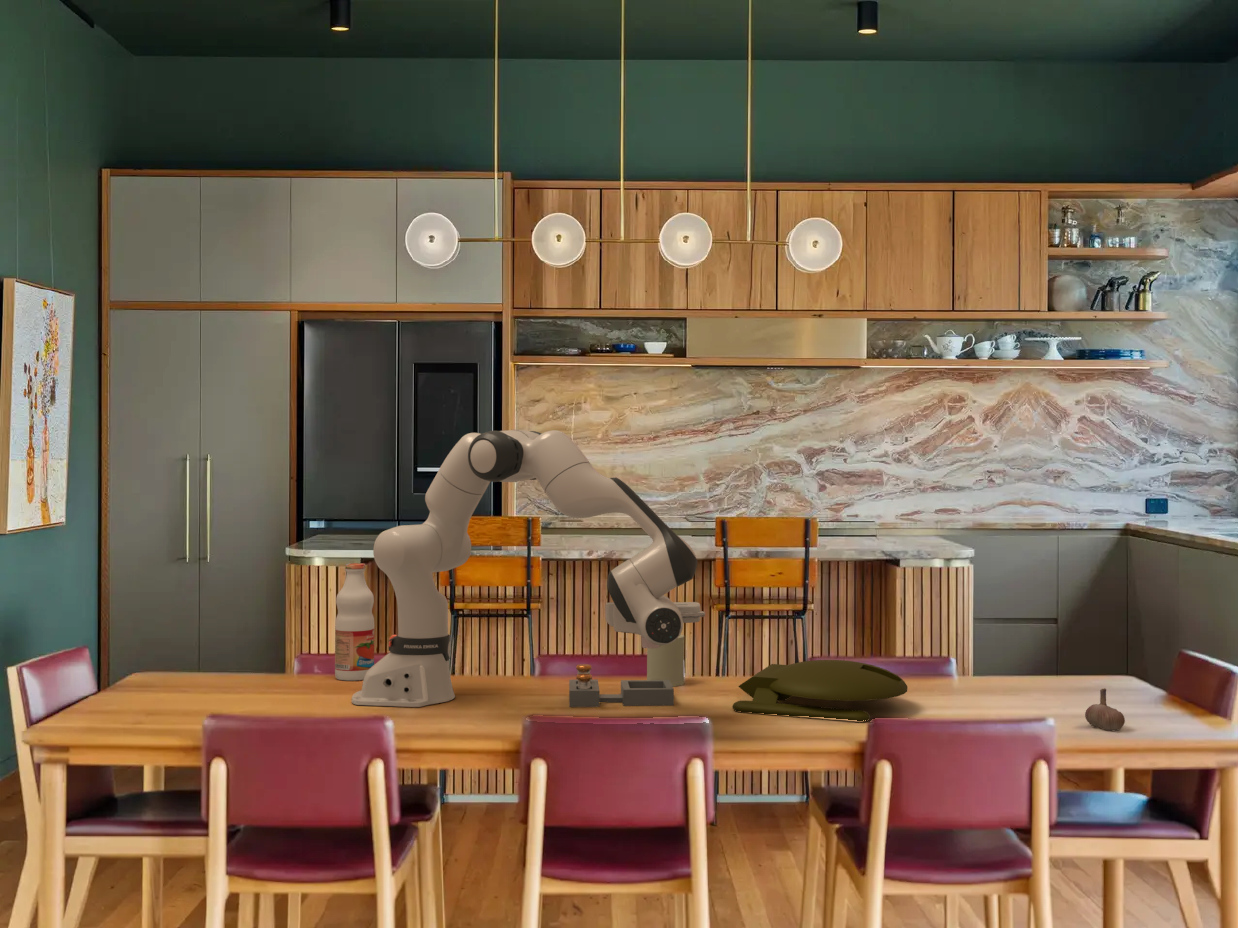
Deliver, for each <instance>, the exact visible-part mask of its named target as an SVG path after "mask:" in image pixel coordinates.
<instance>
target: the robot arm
mask: <svg viewBox="0 0 1238 928" xmlns="http://www.w3.org/2000/svg"><path fill="white" fill-rule="evenodd" d="M535 480H537V482H538V483H539V485H540V486H541V488H542V489H543V491H544V492H545V494H546V496H547V498H548V499H549V500H550V502H551V503H552V504H553V506H554V507H555V508H556V509H557V511H559V512H560V513H561V514H563V515H565V516H567V517H570V518H574V519H575V518H576V519H586V518H592V517H596V516H597V517H598V516H601V515H605V514H606V515H607V514H613V513H620V514H625V515H627V516H628V517H630V518H631V519H632V520H633V521H634V522H635V523H636V524H637V525H638V526H639V527H640V528H641V529H642V530H643V531H644V532H645V534H647V535H648V536H649V538H650V539H652V543H651V544H650V545H648V546H647V547H646V548H644V549H643V550H641V551H640V552H638V553H637V554H635V555H633V556H631V557H630V558H628V559H626V560H625V561H623V562H621V563H620V564H618V565H617V566H616V567H614V568H613V569H612V570H609V573H608V575H607V580H606V582H607V583H606V587H607V591H608V594H609V596H610V598H611V599H612V601H613V602H606V603H605V606H604V608H605V609H604V610H605V611H604V613H605V615H604V617H605V621H606V623H607V624H608V625H609V626H610V627H613V631H614V632H617V633H623V634H624V633H627V634H636V635H638V636H641V635H642V636H644V637H645V638H646V639H647V640H648V641H650V642H651V643H653V644H656V645H666V644H670V643H672V642H674V641H675V640H676V639H677V638H678V637H679V636H680V634H682V633H683V629H684V624H687V623H688V624H690V623H698V622H700V621H701V618H704V617H705V616H706V612H704V611H702V610H701V604H700V602H697V601H683V602H682V601H681V602H679V601H675V602H674V601H673V600H672V599H670V598H669V597H668V596H666V594H667V593H669V592H670V591H672V590H674V589H676V588H677V587H680V586H682V585H684V584H686V583H688V582H690V581H692V580H693V578H694V576H695V574H696V571H697V568H698V561H699V560H698V559H697V555H696V554H695V551H694V550H693V548H692V547H691V546H690V544H688V542H687V541H686V540H685V539H683V538H682V537H681V536H680V535H678V534H676V533H675V531H673V530H672V528H670V527H669V526H668V525H667V524H666V523H665V522H664V520H662V519H661V517H660V516H658V515H657V513H656V512H655V511H654V510H652V508H651V507H650V506H649V505H648V504H647V503H646V502H645V501H644V500H643V499H642V498H641V497H640V496H639V495H638V494H637V493H636V492H635V491H634V490H633V489H632V488H631V487H630V486H629V485H628V484H626V482H625V481H623V480H622V479H620V478H618V477H607V476H605V475H603V474H601V473H600V472H598V471H597V470H596V468H594V467H593V465H592V463H591V462H590V460H589V459H588V458H587V457H586V455H585V454H584V453H583V451H582V449H580V448H579V446H578V445H577V444H576V443H575V442H574V441H573V440H572V439H571V437H570V436H568V435H567V434H566V433H565V432H563V431H561V430H557V429H555V430H554V429H553V430H552V429H551V430H547V431H545V432H540V431H534V430H524V429H509V430H508V429H507V430H506V429H505V430H490V431H486V432H483V433H480V432H470V433H466V434H464V435H463V436H462V437H461V438H460V439H459V440H458V441H457V442H456V443H455V445H454V446H453V447H452V449H451V450H450V451H449V453H448V454H447V456H446V457H445V459H444V460H443V462H442V464H441V465H440V467H439V469H438V471H437V473H436V475H435V477H434V478H433V480H432V481H431V483H430V485H429V487H428V488H427V491H426V493H425V496H424V501H425V504H426V507H427V509H428V511H429V514H428V516H427V519H426V520H425V521H424V522H423V523H421V524H409V525H408V524H406V525H402V524H401V525H398V526H394V527H391V528H389V529H386V530H384V531H382V532H380V533H379V534H378V535H377V537H376V539H375V540H374V545H373V550H372V551H373V559H374V561H375V564H376V566H377V568H378V569H380V571H382V572H383V573H384V574H385V575H386V576H387V578H388V579H389V581H390V584H391V585H392V588H393V591H394V593H395V594H394V595H395V598H396V599H395V600H396V605H397V634H392V635H391V636H390V637H389V639H388V651H389V652H388V653H387V654H386V655H384V656H383V657H381V658H380V659H379V660H378V661H377V662H376V663H374V665H373V666H372V667H371V668H370V669H369V670H368V671H367V672H366V674H365V676H364V680H362V686H361V690H358V691H356V692H354V693H353V694H352V696H351V704H353V705H355V706H357V705H358V706H376V707H378V706H379V707H380V706H381V707H383V706H384V707H403V708H404V707H406V708H407V707H410V708H411V707H412V708H420V707H424V706H429V705H434V704H439V703H445V702H449V701H452V700H454V699H455V698H456V695H455V692H454V689H453V683H452V679H451V678H452V677H451V672H450V662H449V660H450V658H451V638H450V637H451V636H450V633H449V632H448V631H449V602H448V599H447V598H446V596H445V595H444V594H443V593H442V592H440V591H439V590H438V589H437V586H436V584H435V581H434V575H433V573H440V572H447V571H451V570H453V569H456V568H458V567H461V566H463V565H464V564H466V562H467V561H468V559H469V558H470V556H471V553H472V541H471V538H470V535H469V534H468V528H469V524H470V520H471V518H472V515H473V514H474V512H475V510H476V508H477V507H478V505H479V503H480V501H481V499H482V498H483V496H484V494H485V493H486V490H487V488H488V487H489V486H490V483H491V482H492V483H497V482H499V483H500V482H501V483H518V482H523V481H525V482H526V481H535Z"/></svg>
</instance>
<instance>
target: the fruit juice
mask: <svg viewBox="0 0 1238 928" xmlns="http://www.w3.org/2000/svg"><path fill="white" fill-rule="evenodd" d="M344 569H345V573H346V576H345V580H344V583H343V586H342V587H341V589H340V590H339V592H338V593H337V594H336V598H335V603H336V604H335V605H336V608H337V614H336V617H335V625H334V627H335V628H334V629H335V634H334V635H335V636H334V640H335V641H334V645H335V646H334V677H335V679H337V680H339V681H348V682H350V681H351V682H353V681H363V680H364V676H365V674H366V672H367V671H368V670H369V669H370V668H371V667H372V666H373V665H374V664H375V616H374V614H373V607H374V603H375V597H374V596H375V595H374V593H373V592H372V590H371V589H370V587H368V584H367V582H366V581H367V580H366V577H365V571H366V569H367V568H366V563H359V562H358V563H345V565H344Z"/></svg>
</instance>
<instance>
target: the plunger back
mask: <svg viewBox="0 0 1238 928" xmlns="http://www.w3.org/2000/svg"><path fill="white" fill-rule="evenodd" d="M575 668H576V669H575V670H576V671H577V674H591V670H592V665H591V664H587V663H585V664H584V663H581V664H577V665H576V667H575Z"/></svg>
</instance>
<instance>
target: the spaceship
mask: <svg viewBox="0 0 1238 928" xmlns="http://www.w3.org/2000/svg"><path fill="white" fill-rule="evenodd" d="M737 687H738V688H740V689H741V690H742V691H743V692H744V693H745V694H747V695H748V696H750V697H751V698H752V700H738V701H736V702H734V703H733V704H732V710H733V711H735V710H736V711H735V712H737V711H741V712H740V713H742V712H752V713H751V714H753V713H764V714H763V715H765V714H777V715H789V716H809V717H824V718H836V719H848V720H857V721H863V720H864V721H865V720H866V722H868V721H869V720H870V718H871V717H870V714H869V713H868V712H866V711H865V710H862V709H856V708H855V709H852V708H844V707H843V708H841V707H830V706H816V705H808V704H807V705H804V704H796V703H795V704H794V703H793V704H792V703H783V702H785V701H787V700H789V699H790V698H792V697H798V698H805V699H813V700H823V701H824V700H825V701H842V702H844V701H850V702H851V701H852V702H854V701H859V702H860V701H873V700H874V701H875V700H878V701H879V700H885V699H886V700H887V699H893V698H896V697H901V696H903V695H904V694H906V693H907V692H908V685H907V683H906V682H905V681H904V680H903V679H902V678H901V677H900V676H899V675H898V674H896V673H894V672H892V671H890V670H887V669H885V668H883V667H880V666H876V665H873V664H869V663H864V662H859V661H853V660H846V659H845V660H844V659H843V660H842V659H817V660H816V659H815V660H806V661H800V662H795V663H791V664H780V663H779V664H778V663H771V664H770V665H767V667H765V668H763V669H761V670H760V671H759V672H757V673H756V674H753V675H752V676H751V677H750V678H748V679H746V680H745V681H744V682H742V683H741V684H739V685H738V686H737ZM778 701H780V703H779V702H778ZM868 719H869V720H868ZM867 720H868V721H867Z"/></svg>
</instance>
